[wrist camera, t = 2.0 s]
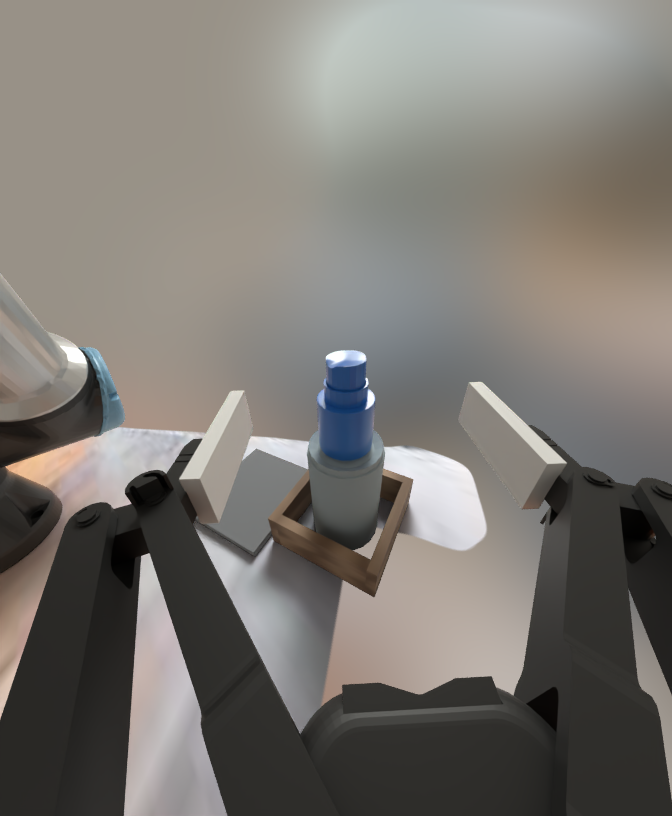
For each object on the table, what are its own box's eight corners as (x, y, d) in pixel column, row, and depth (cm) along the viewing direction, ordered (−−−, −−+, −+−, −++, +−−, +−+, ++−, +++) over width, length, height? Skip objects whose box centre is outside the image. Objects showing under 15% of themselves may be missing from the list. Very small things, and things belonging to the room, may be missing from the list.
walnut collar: (273, 540, 36) (267, 518, 33) (326, 469, 47) (325, 448, 44) (374, 597, 30) (377, 575, 28) (408, 501, 41) (413, 479, 38)
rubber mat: (187, 515, 40) (185, 511, 39) (257, 452, 50) (256, 448, 50) (254, 556, 34) (253, 552, 34) (316, 476, 45) (315, 472, 45)
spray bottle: (356, 486, 43) (362, 335, 30) (389, 532, 37) (416, 364, 23) (305, 508, 40) (284, 349, 26) (331, 563, 33) (322, 389, 20)
